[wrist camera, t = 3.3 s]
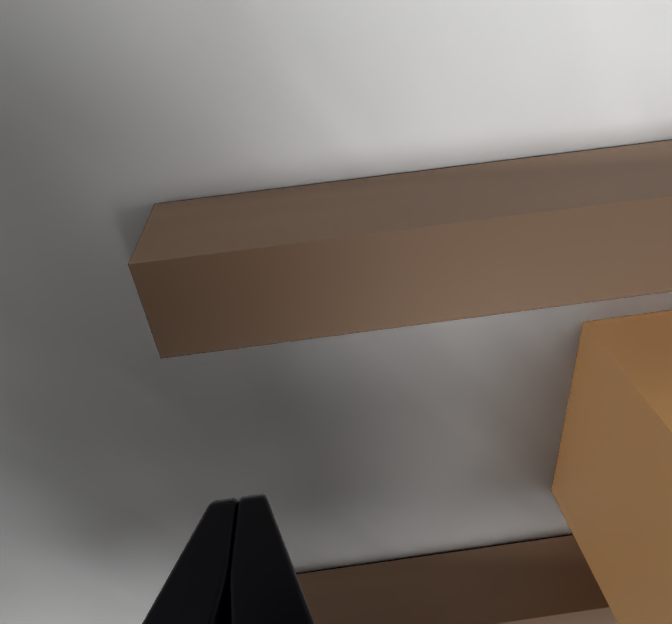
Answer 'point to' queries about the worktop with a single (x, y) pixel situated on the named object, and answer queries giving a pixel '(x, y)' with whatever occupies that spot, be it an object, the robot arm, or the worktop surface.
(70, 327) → the worktop surface
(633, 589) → the block
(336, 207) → the slot guide
